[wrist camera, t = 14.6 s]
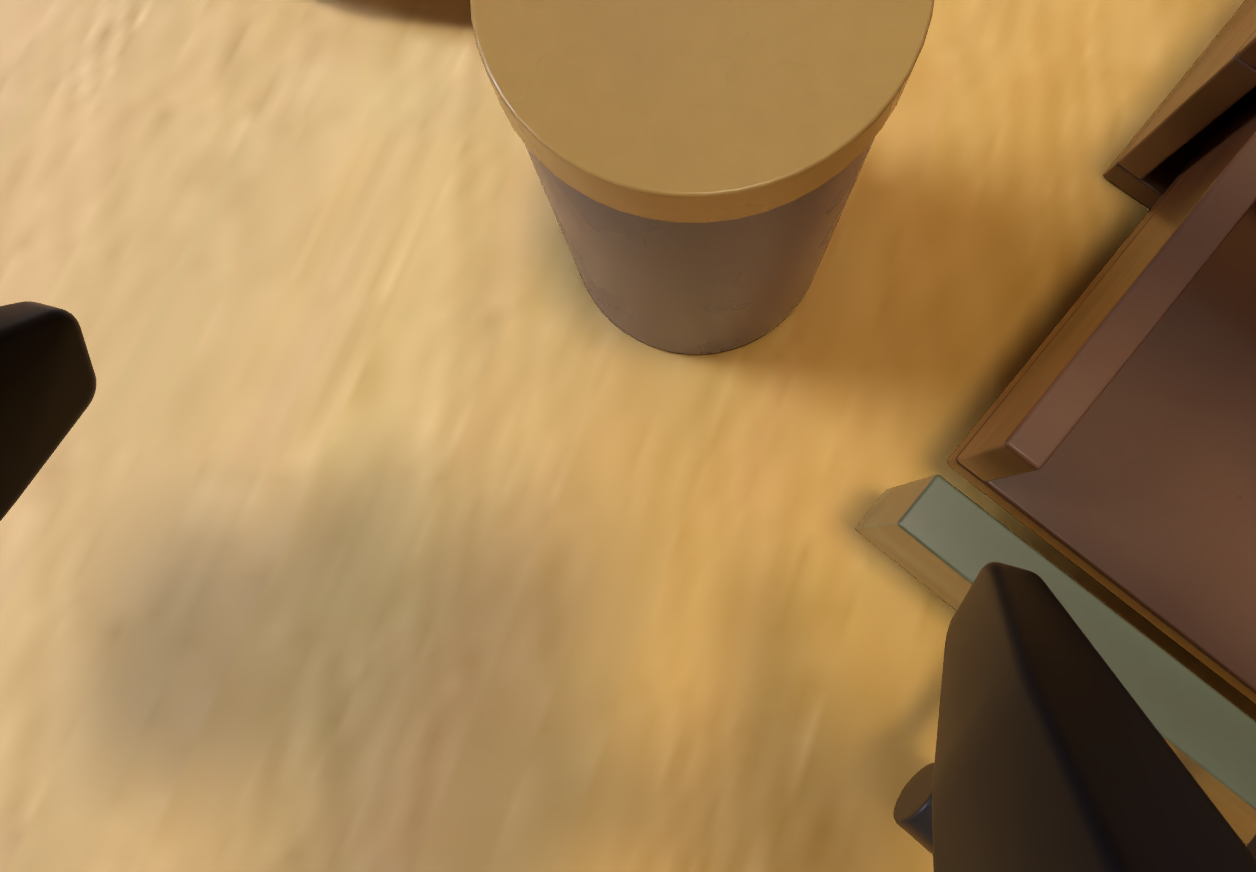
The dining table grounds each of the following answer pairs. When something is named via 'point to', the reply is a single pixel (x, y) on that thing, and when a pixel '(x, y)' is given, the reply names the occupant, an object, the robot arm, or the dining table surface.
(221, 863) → the dining table surface
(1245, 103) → the brown box
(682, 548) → the dining table surface
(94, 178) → the dining table surface
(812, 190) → the tea tin
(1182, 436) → the drawer
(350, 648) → the dining table surface
